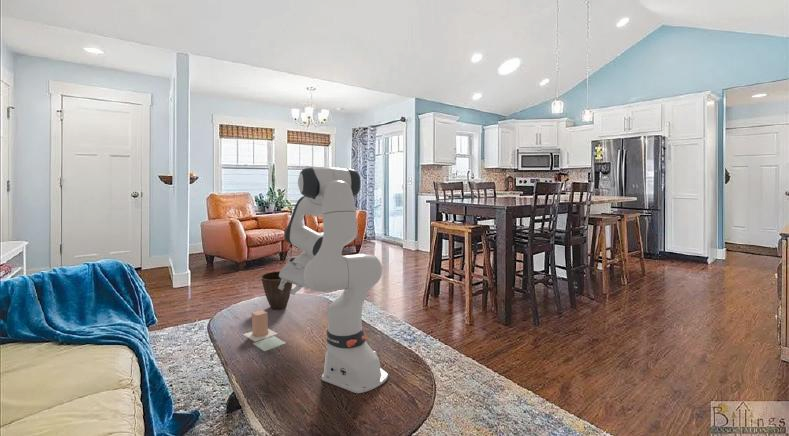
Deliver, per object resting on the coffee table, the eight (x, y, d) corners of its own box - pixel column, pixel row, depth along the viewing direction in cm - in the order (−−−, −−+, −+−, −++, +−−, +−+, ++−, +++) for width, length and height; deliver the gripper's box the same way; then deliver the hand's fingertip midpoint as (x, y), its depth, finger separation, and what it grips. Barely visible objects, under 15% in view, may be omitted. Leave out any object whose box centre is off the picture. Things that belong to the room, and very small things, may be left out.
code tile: (277, 334, 157) (277, 333, 157) (254, 342, 150) (254, 341, 150) (265, 327, 164) (265, 327, 164) (242, 334, 157) (242, 334, 156)
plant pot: (289, 312, 182) (288, 279, 180) (258, 312, 181) (256, 279, 180) (297, 301, 197) (296, 271, 195) (268, 302, 196) (266, 271, 194)
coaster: (286, 344, 148) (286, 342, 148) (264, 352, 141) (264, 350, 141) (274, 337, 154) (274, 336, 154) (252, 344, 148) (252, 343, 148)
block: (268, 333, 157) (267, 312, 156) (257, 337, 154) (256, 315, 152) (262, 330, 160) (262, 309, 159) (252, 334, 157) (251, 312, 156)
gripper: (323, 273, 164) (304, 300, 159) (296, 265, 178) (278, 290, 172) (314, 264, 161) (294, 292, 155) (287, 257, 175) (268, 282, 169)
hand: (285, 291), depth 164 cm, fingers open, 8 cm apart
